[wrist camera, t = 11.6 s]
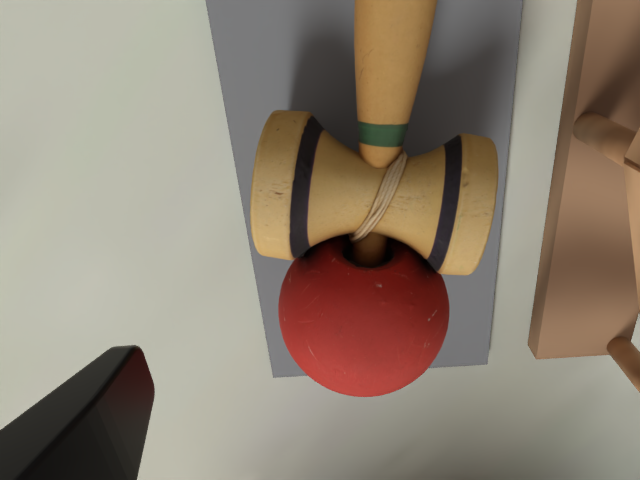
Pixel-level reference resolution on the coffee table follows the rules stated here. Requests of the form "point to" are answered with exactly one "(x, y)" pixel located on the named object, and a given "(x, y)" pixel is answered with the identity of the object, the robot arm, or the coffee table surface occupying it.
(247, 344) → the coffee table surface
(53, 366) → the coffee table surface
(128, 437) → the robot arm
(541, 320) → the tan wooden frame
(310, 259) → the kendama
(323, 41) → the mat
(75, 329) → the coffee table surface
